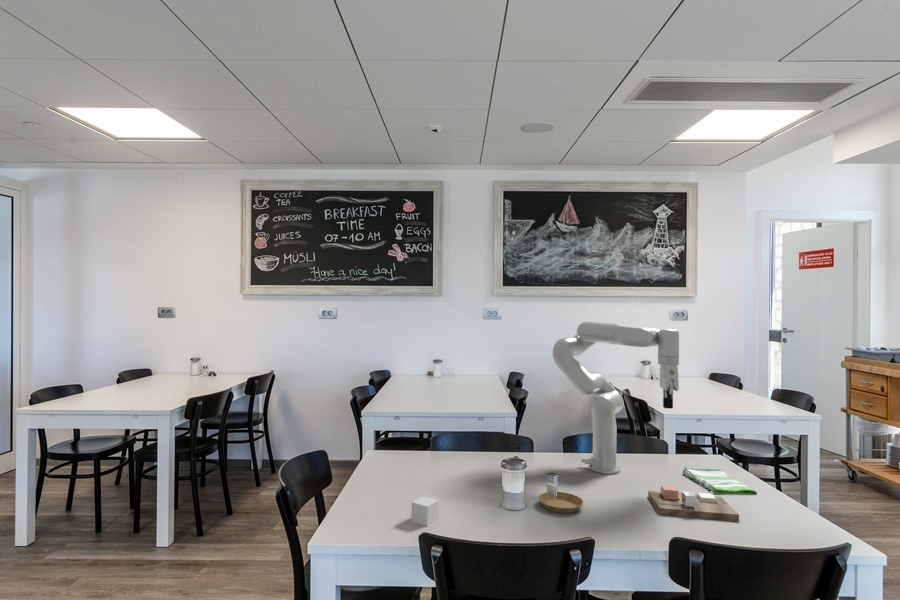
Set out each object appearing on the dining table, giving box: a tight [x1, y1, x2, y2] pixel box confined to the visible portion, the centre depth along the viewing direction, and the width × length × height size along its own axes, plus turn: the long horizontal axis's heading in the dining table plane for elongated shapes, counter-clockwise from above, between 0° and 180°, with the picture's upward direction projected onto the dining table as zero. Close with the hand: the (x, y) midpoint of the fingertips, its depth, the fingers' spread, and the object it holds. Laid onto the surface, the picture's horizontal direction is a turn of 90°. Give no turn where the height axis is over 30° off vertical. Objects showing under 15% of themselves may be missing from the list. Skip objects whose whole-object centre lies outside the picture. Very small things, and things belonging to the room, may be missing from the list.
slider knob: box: [681, 490, 696, 507], centre depth 163 cm, size 3×4×4 cm
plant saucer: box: [538, 491, 584, 514], centre depth 166 cm, size 15×15×3 cm
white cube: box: [410, 495, 440, 527], centre depth 153 cm, size 6×6×6 cm
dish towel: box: [682, 466, 758, 495], centre depth 193 cm, size 17×23×4 cm
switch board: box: [647, 490, 740, 522], centre depth 167 cm, size 24×16×2 cm, turn 80°
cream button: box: [696, 492, 716, 503], centre depth 169 cm, size 5×5×3 cm
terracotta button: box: [660, 484, 679, 500], centre depth 171 cm, size 5×5×3 cm
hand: (667, 407), depth 192 cm, fingers closed
